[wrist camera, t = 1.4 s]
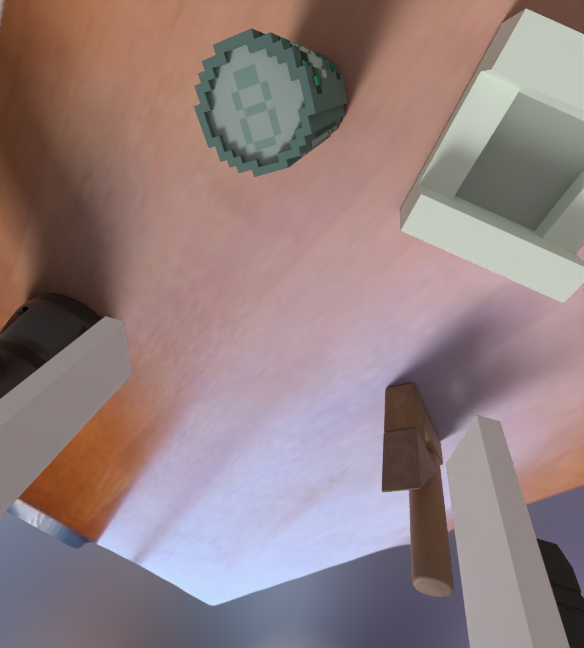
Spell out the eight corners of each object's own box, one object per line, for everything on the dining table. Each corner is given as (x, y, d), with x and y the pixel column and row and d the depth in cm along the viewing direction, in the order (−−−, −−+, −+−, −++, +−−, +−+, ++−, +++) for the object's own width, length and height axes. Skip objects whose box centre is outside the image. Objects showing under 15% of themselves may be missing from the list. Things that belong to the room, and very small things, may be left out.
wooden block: (413, 380, 43) (423, 530, 29) (441, 441, 48) (461, 600, 33) (383, 387, 45) (378, 532, 30) (412, 445, 49) (420, 598, 35)
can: (337, 43, 28) (293, 10, 16) (353, 129, 31) (325, 157, 19) (265, 71, 30) (177, 60, 18) (286, 149, 33) (222, 185, 21)
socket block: (399, 209, 34) (400, 230, 29) (501, 23, 26) (525, 8, 21) (539, 271, 34) (563, 303, 29) (683, 105, 26) (752, 109, 21)
